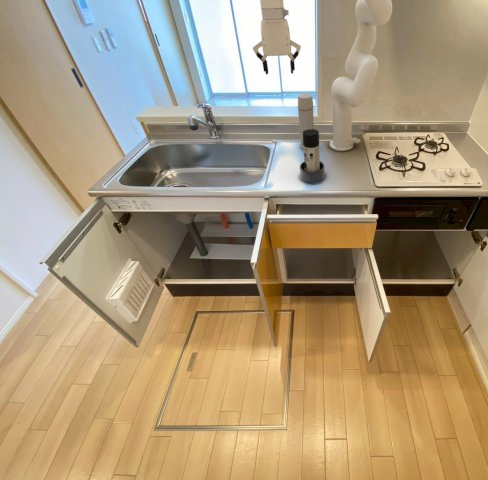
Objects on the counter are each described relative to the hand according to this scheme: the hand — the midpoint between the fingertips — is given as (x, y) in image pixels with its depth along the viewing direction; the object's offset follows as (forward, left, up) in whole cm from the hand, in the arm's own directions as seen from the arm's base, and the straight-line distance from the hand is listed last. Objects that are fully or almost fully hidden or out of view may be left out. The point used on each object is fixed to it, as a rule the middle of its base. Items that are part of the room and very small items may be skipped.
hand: (279, 73), depth 102 cm
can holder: (-11, +13, -38) cm, 42 cm away
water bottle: (-8, -16, -38) cm, 42 cm away
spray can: (-11, +13, -38) cm, 41 cm away
